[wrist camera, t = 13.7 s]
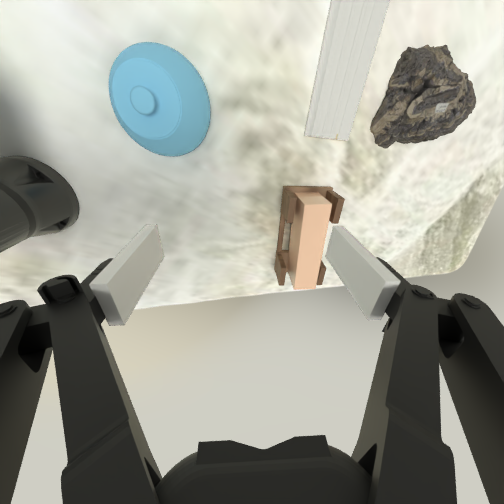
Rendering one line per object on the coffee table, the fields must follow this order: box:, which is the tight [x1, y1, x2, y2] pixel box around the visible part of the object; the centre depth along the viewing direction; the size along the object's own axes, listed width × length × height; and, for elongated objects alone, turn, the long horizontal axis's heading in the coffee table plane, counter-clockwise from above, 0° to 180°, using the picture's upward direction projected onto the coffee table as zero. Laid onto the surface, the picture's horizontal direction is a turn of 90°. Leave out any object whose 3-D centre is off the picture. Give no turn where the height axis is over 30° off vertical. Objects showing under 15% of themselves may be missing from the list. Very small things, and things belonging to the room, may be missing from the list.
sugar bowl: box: [109, 42, 210, 156], centre depth 31 cm, size 15×15×12 cm
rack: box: [275, 186, 345, 285], centre depth 47 cm, size 10×22×7 cm, turn 178°
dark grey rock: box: [371, 45, 476, 148], centre depth 36 cm, size 19×4×15 cm
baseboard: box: [304, 0, 390, 141], centre depth 31 cm, size 30×3×10 cm
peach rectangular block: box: [287, 192, 332, 290], centre depth 46 cm, size 5×20×8 cm, turn 1°
